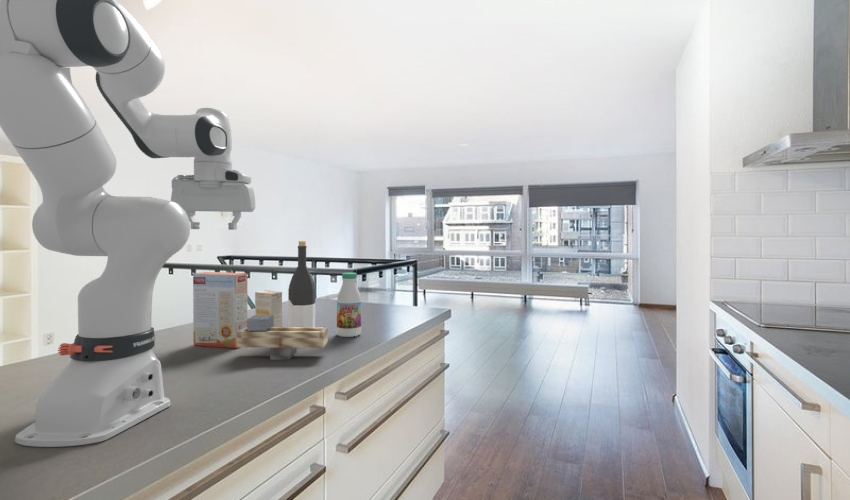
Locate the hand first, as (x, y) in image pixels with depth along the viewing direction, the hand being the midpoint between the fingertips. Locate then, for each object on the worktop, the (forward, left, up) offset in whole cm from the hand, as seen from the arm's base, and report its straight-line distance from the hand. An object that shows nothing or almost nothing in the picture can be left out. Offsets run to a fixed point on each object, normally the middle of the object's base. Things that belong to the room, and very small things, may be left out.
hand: (213, 229), depth 113 cm
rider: (+1, -11, -28) cm, 30 cm away
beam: (+1, -17, -33) cm, 38 cm away
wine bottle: (+21, -17, -34) cm, 43 cm away
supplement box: (+30, -4, -34) cm, 45 cm away
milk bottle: (+25, -31, -34) cm, 52 cm away
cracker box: (+12, +4, -34) cm, 36 cm away
